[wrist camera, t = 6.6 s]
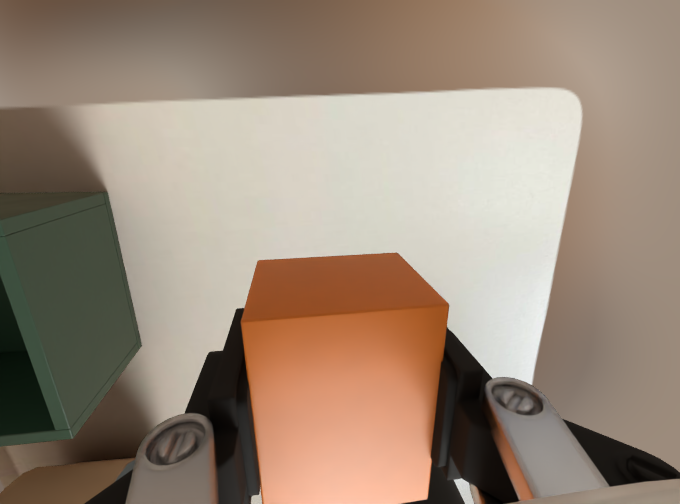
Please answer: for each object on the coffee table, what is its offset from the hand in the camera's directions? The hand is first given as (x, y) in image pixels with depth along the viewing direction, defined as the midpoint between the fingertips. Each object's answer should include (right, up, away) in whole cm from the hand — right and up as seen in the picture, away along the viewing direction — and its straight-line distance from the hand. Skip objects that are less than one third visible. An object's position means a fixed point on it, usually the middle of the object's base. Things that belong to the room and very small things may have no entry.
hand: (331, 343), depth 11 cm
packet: (0, 0, 0) cm, 0 cm away
